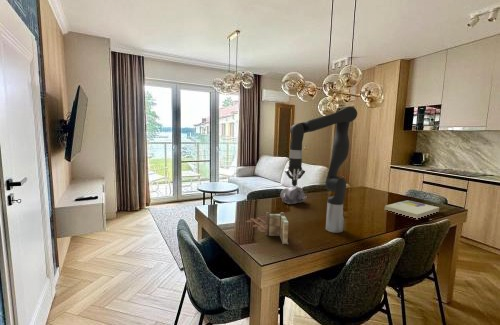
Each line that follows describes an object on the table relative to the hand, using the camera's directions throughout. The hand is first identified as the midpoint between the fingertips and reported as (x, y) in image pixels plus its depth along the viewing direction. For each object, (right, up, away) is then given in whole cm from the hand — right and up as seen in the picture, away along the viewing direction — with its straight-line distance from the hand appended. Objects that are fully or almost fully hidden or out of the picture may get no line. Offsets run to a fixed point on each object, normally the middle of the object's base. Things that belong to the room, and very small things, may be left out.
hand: (294, 185), depth 150 cm
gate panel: (-9, -28, -15) cm, 33 cm away
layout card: (-9, -29, -13) cm, 32 cm away
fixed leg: (-13, -27, -9) cm, 32 cm away
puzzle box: (+101, -25, +44) cm, 113 cm away
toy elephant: (+10, -21, +61) cm, 65 cm away
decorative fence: (-19, -27, +7) cm, 34 cm away
